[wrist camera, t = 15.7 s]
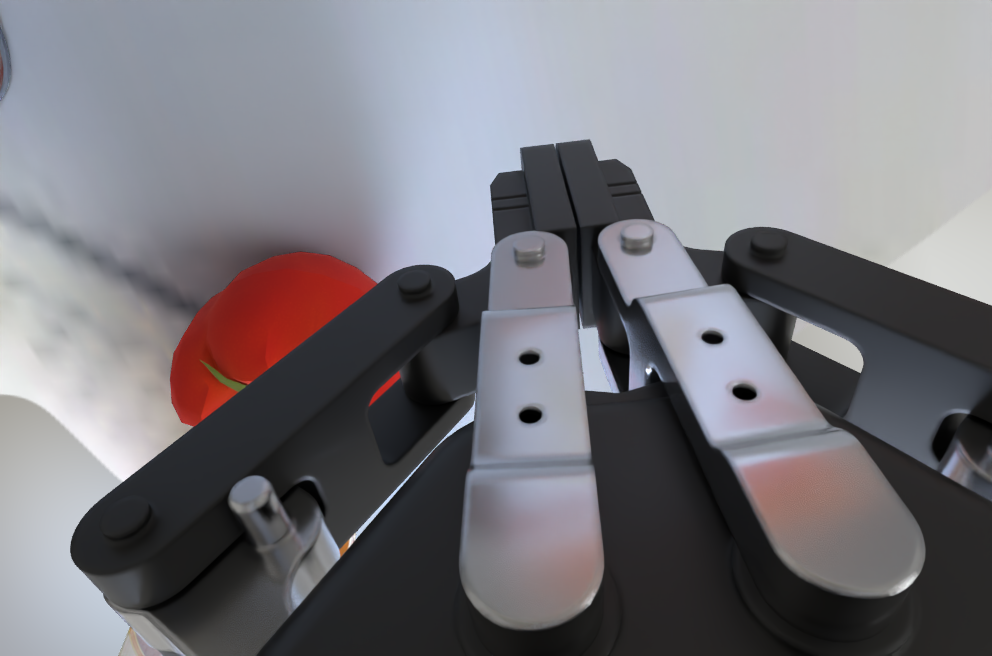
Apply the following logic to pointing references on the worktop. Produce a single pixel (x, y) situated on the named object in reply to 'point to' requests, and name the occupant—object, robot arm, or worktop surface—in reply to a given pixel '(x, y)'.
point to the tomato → (259, 327)
